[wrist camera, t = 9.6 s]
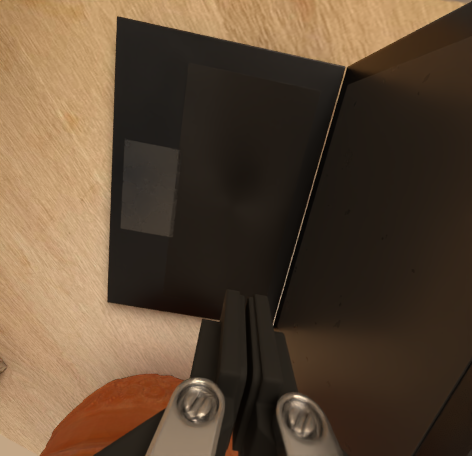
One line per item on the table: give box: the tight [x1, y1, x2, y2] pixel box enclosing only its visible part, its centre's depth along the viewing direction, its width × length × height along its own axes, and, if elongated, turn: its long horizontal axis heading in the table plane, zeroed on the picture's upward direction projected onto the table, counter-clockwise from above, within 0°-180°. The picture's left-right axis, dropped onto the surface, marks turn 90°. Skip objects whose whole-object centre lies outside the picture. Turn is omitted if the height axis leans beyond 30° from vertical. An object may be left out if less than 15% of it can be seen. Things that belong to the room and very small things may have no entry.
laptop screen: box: [273, 1, 472, 456], centre depth 19 cm, size 21×30×1 cm
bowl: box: [40, 374, 238, 456], centre depth 32 cm, size 25×25×15 cm
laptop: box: [107, 17, 345, 323], centre depth 29 cm, size 21×30×2 cm
